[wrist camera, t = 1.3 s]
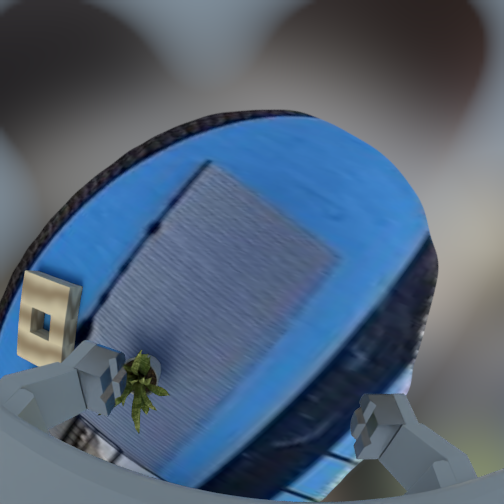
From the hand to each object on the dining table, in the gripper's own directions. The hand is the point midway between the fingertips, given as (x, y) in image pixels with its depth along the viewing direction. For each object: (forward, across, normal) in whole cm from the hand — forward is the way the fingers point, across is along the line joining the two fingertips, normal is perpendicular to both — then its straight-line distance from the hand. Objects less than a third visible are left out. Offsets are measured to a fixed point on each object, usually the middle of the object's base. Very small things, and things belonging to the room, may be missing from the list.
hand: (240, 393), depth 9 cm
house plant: (+35, -18, -29) cm, 49 cm away
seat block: (+34, -40, -27) cm, 59 cm away
